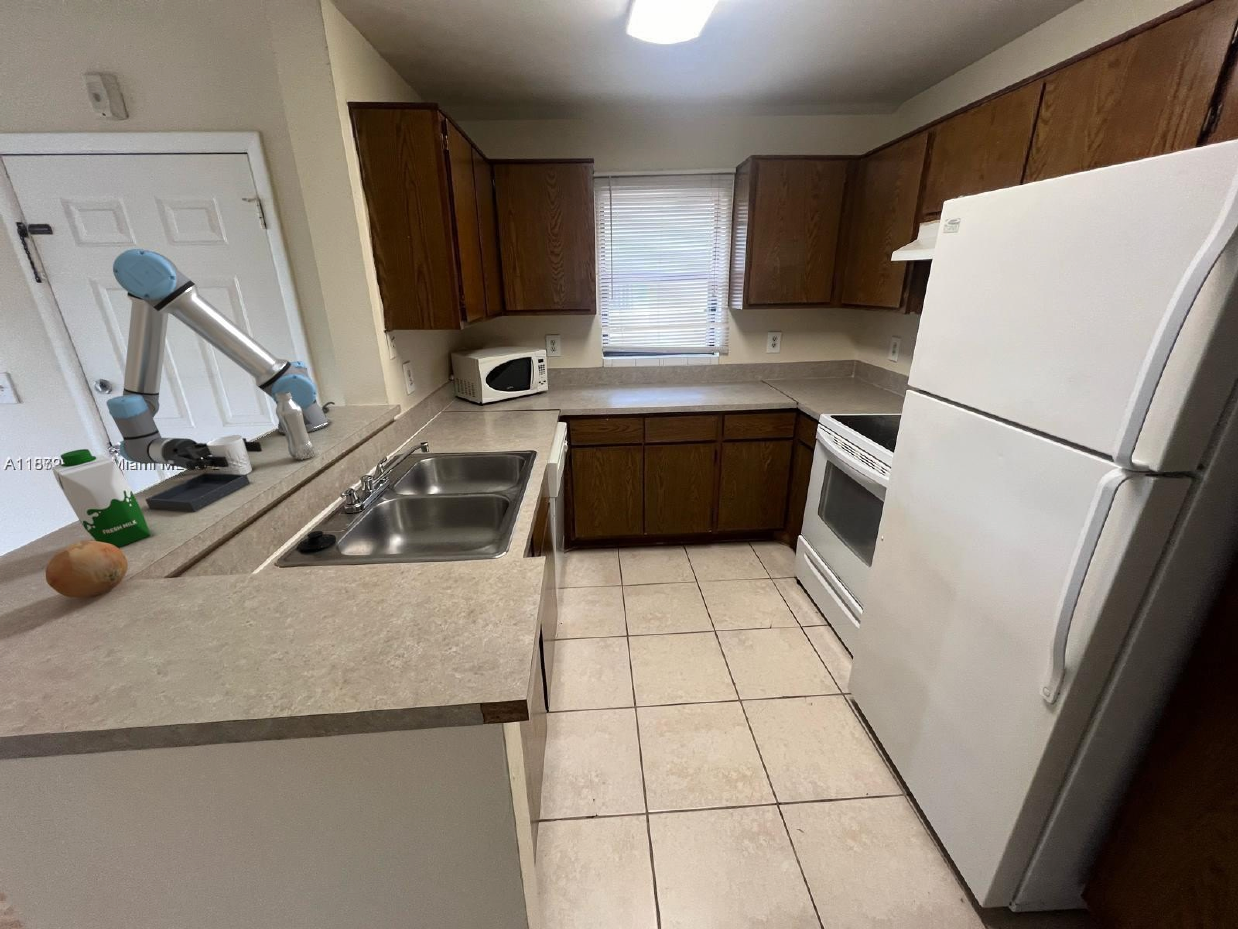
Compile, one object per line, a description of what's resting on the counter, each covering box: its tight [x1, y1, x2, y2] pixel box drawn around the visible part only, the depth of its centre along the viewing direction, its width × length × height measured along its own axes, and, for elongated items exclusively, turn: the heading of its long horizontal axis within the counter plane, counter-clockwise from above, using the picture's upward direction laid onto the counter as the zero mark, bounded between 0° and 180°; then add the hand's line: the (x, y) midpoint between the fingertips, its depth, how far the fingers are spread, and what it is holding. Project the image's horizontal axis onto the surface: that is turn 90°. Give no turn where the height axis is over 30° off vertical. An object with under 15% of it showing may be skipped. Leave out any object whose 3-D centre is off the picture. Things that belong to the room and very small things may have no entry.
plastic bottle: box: [275, 391, 316, 461], centre depth 137 cm, size 6×7×20 cm
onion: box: [45, 540, 129, 599], centre depth 84 cm, size 10×10×10 cm
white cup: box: [205, 434, 253, 475], centre depth 131 cm, size 8×8×10 cm
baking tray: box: [144, 472, 251, 513], centre depth 120 cm, size 15×13×3 cm
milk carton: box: [51, 448, 152, 549], centre depth 98 cm, size 9×9×20 cm
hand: (243, 454), depth 129 cm, fingers open, 10 cm apart
